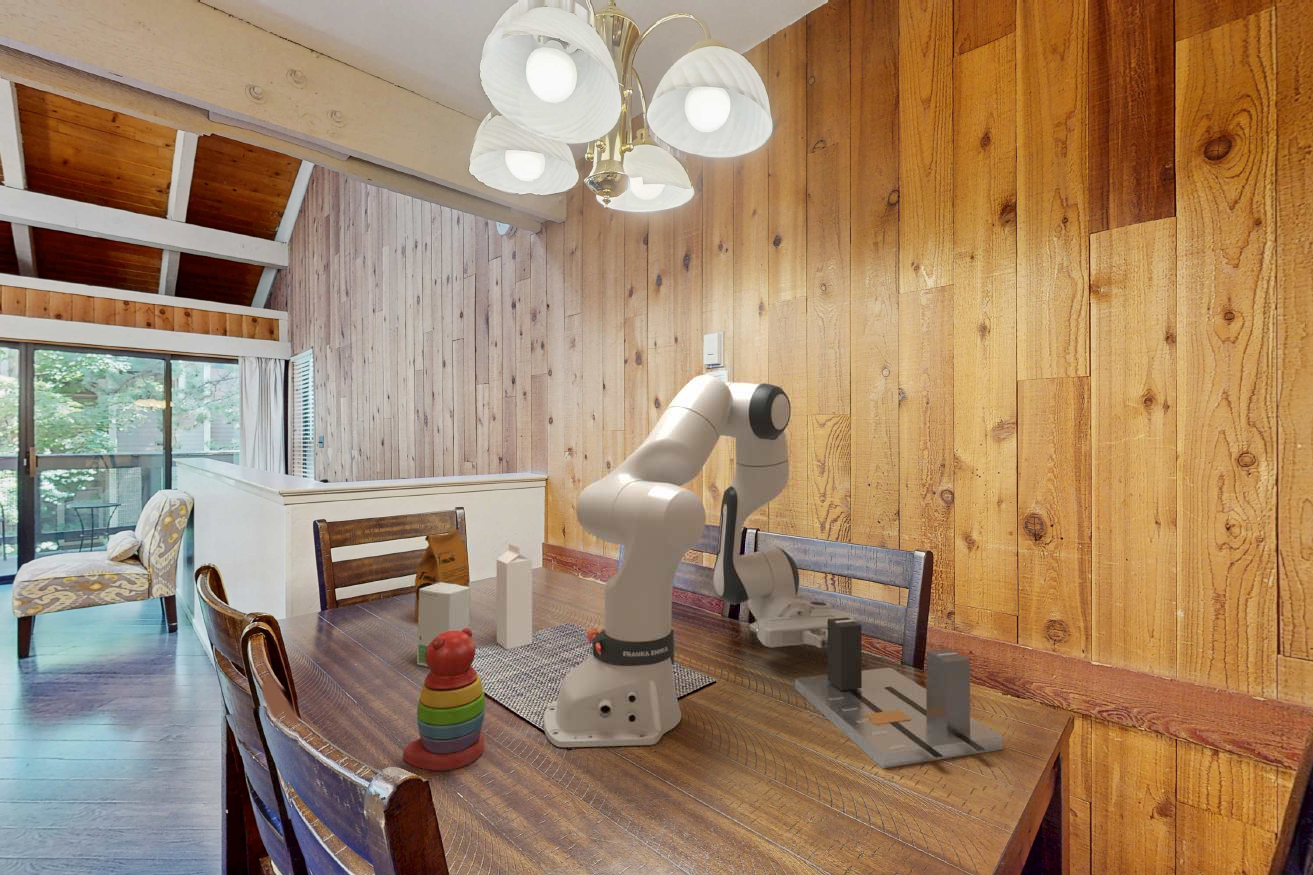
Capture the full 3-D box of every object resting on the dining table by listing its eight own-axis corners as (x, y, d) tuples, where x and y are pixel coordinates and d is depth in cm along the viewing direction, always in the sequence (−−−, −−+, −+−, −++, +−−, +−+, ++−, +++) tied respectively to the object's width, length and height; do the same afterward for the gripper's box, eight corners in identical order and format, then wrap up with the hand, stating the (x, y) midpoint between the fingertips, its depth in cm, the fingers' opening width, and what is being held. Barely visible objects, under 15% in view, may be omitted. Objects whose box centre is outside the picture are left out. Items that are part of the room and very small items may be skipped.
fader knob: (841, 690, 99) (840, 625, 99) (827, 679, 104) (827, 617, 104) (861, 687, 100) (861, 623, 100) (847, 677, 105) (847, 616, 105)
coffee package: (408, 622, 144) (408, 534, 144) (445, 609, 155) (445, 527, 155) (438, 628, 140) (437, 537, 140) (474, 613, 151) (474, 530, 151)
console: (894, 778, 78) (894, 681, 78) (795, 689, 105) (794, 617, 105) (1016, 758, 82) (1016, 666, 82) (890, 677, 110) (890, 608, 110)
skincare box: (416, 665, 117) (415, 588, 117) (439, 654, 123) (439, 581, 123) (448, 671, 113) (448, 593, 113) (471, 659, 120) (471, 584, 120)
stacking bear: (464, 727, 92) (463, 615, 92) (502, 748, 85) (502, 629, 85) (397, 756, 83) (397, 633, 83) (434, 782, 77) (434, 650, 77)
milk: (506, 650, 125) (506, 549, 125) (496, 642, 130) (495, 544, 130) (532, 643, 129) (532, 545, 129) (521, 636, 134) (520, 541, 133)
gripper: (746, 609, 119) (775, 630, 105) (835, 602, 124) (874, 622, 110) (746, 639, 119) (775, 665, 105) (835, 631, 123) (874, 655, 110)
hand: (826, 643), depth 108 cm, fingers closed
